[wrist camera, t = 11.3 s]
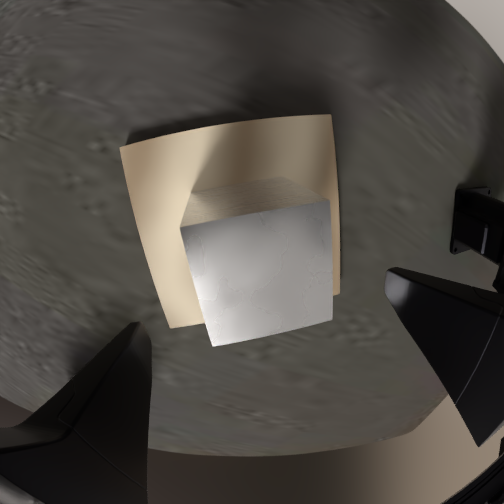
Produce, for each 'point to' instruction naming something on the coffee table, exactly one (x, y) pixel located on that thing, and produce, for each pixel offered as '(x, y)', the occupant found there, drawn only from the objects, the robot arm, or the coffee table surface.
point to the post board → (216, 175)
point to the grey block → (259, 258)
